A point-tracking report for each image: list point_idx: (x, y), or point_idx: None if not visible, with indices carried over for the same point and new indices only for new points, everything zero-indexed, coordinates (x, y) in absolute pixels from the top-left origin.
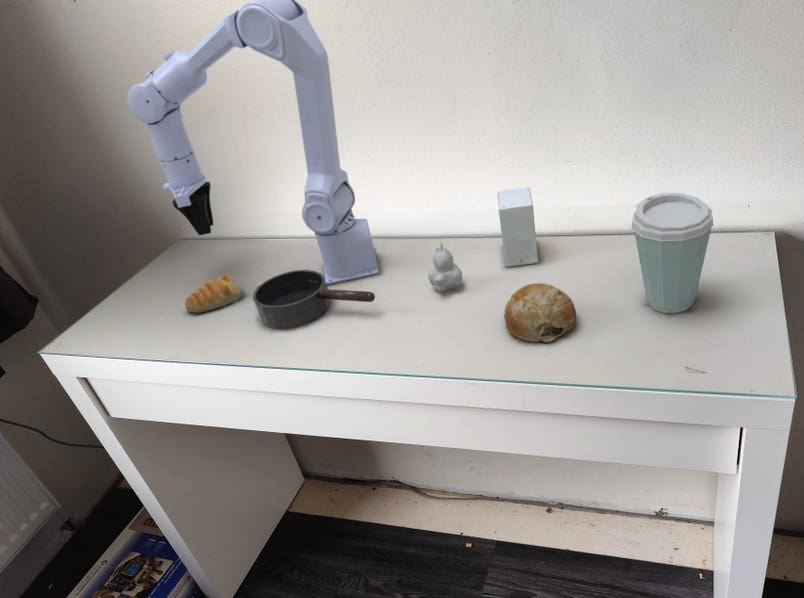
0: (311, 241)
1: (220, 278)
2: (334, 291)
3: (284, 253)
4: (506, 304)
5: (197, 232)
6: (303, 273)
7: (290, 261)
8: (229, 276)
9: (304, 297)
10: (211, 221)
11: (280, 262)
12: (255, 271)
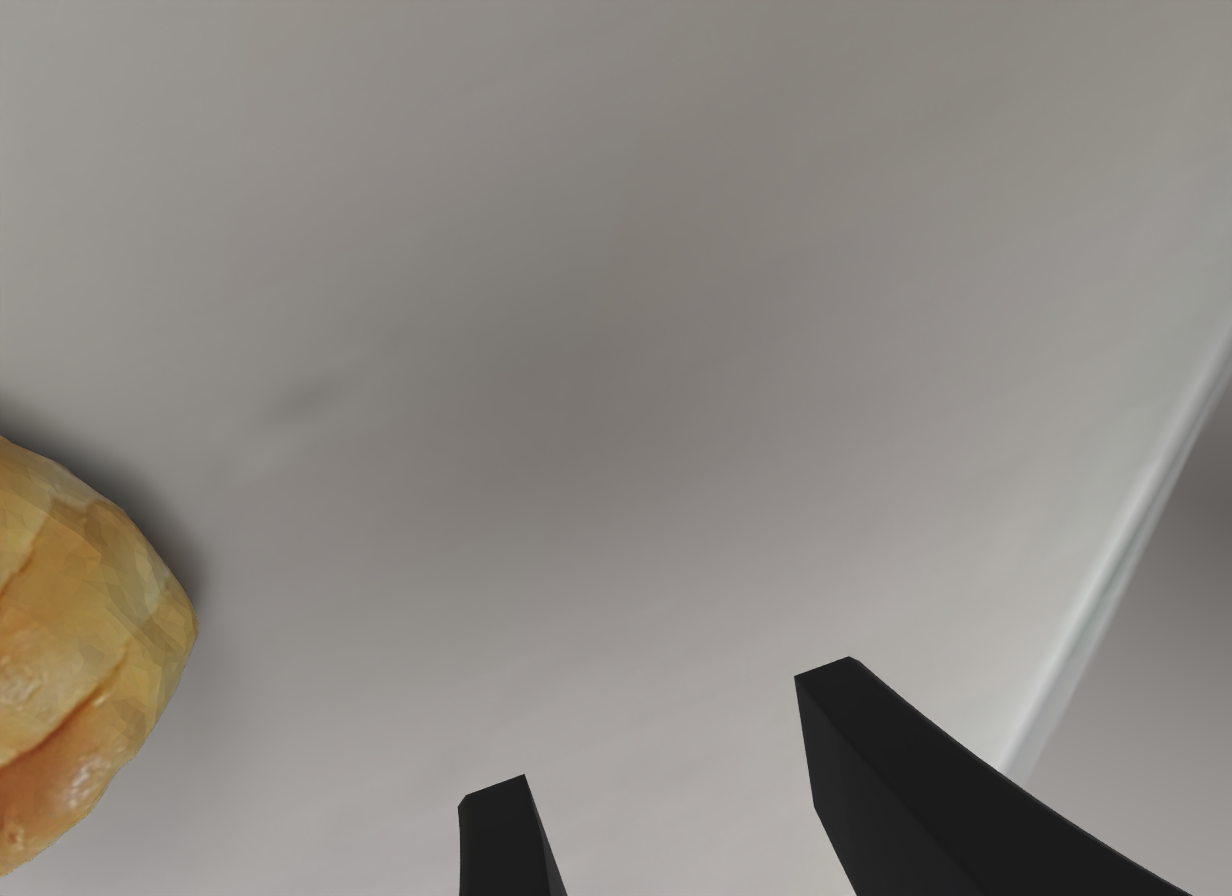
0: None
1: (7, 746)
2: None
3: (801, 743)
4: None
5: (462, 843)
6: None
7: (637, 845)
8: (15, 858)
9: None
10: (843, 862)
11: (642, 781)
12: (522, 651)
